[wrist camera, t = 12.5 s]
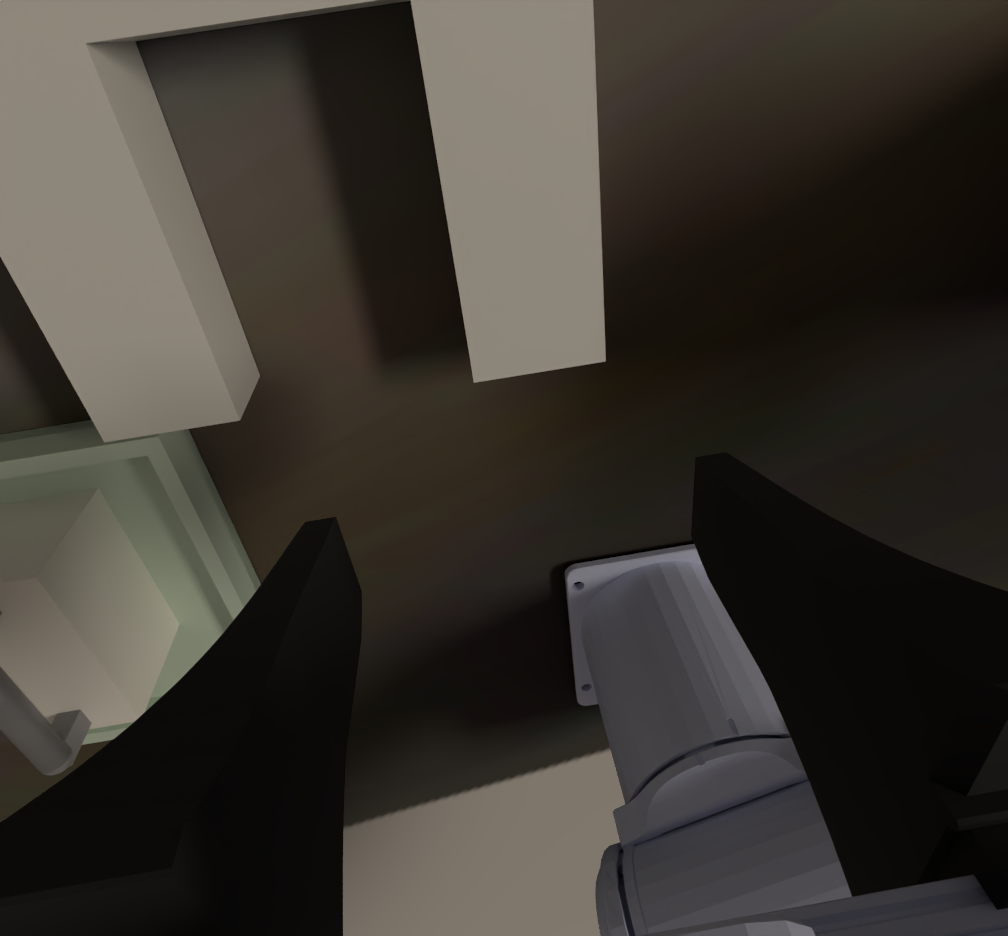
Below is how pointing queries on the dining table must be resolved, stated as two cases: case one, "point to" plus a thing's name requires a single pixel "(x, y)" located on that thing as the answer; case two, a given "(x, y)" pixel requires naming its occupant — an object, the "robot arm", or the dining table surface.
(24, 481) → the tray
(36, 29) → the bay
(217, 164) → the dining table surface
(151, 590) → the block with grey handle
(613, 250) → the dining table surface
